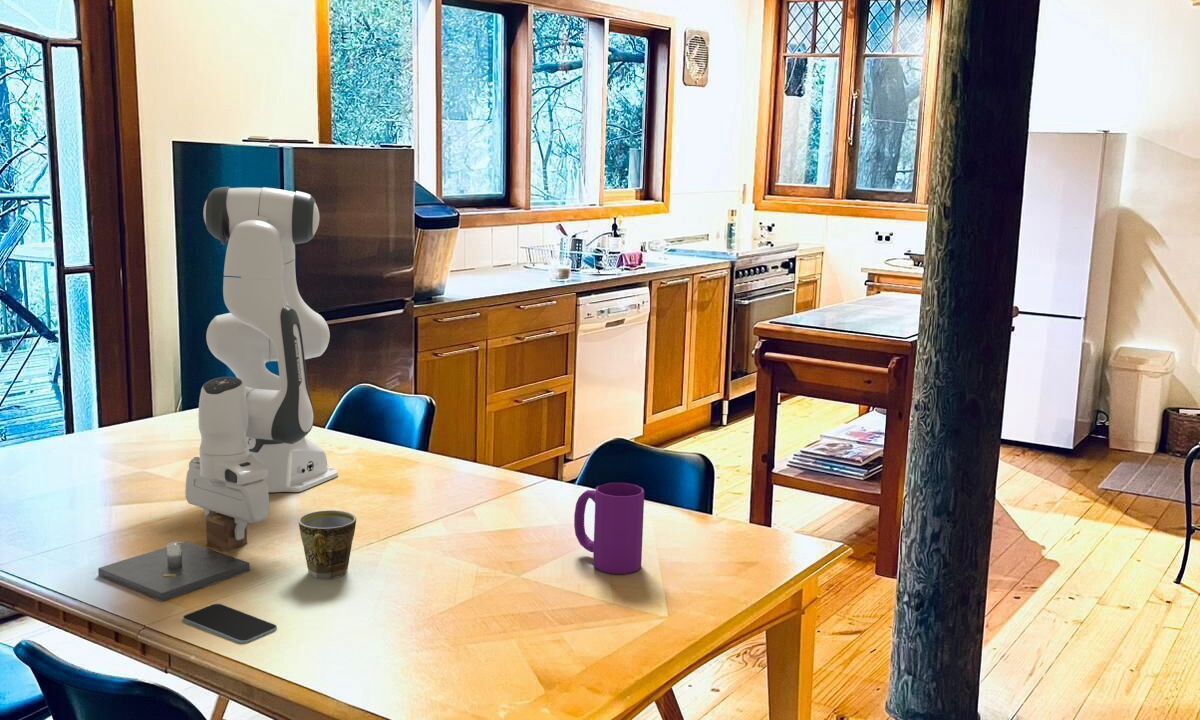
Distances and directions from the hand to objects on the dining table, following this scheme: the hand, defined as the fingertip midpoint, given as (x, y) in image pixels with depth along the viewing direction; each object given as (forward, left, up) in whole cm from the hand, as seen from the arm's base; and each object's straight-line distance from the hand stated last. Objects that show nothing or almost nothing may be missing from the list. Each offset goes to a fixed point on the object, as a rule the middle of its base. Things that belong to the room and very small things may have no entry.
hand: (226, 534), depth 218 cm
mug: (-38, +61, -2) cm, 72 cm away
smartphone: (+23, +30, -2) cm, 38 cm away
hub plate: (+15, +5, -2) cm, 16 cm away
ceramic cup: (-1, +26, -2) cm, 26 cm away
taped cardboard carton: (0, 0, -2) cm, 2 cm away
